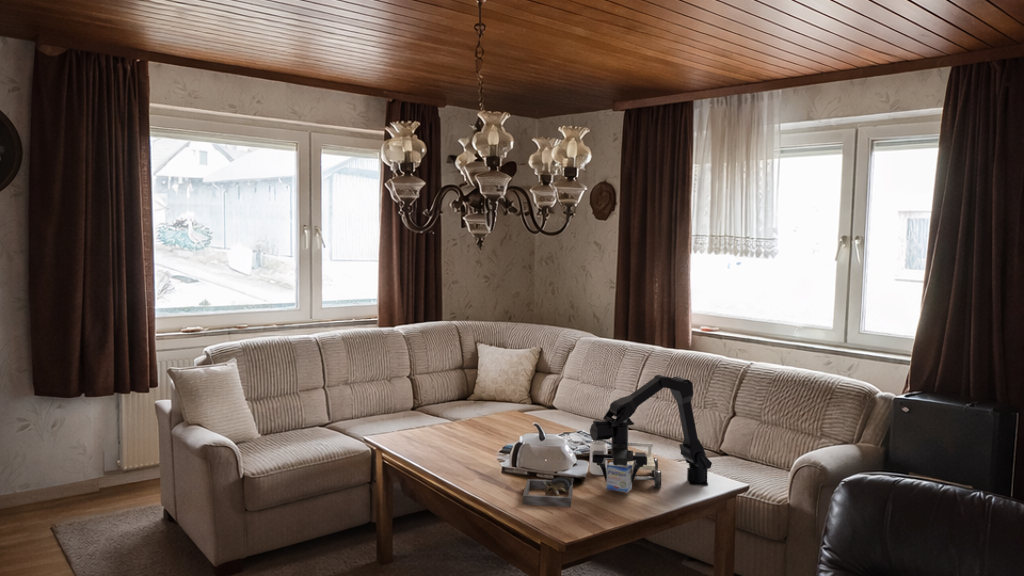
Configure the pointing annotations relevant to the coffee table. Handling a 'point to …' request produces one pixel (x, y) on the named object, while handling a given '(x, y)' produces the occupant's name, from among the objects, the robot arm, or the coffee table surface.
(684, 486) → the coffee table surface
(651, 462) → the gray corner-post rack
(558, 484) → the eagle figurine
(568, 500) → the gray square tray
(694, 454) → the robot arm
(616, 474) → the medicine box
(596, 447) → the can
